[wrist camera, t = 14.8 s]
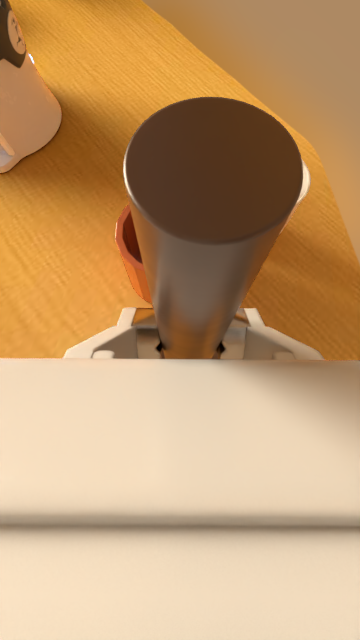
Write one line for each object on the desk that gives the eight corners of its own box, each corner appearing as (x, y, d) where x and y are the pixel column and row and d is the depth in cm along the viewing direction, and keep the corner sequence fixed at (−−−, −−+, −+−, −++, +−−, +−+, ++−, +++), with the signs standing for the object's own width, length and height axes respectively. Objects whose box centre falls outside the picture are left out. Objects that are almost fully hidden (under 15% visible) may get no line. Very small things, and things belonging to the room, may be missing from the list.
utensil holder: (127, 306, 38) (112, 274, 30) (131, 237, 41) (118, 190, 32) (205, 307, 38) (212, 275, 30) (204, 238, 41) (210, 190, 32)
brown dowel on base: (148, 412, 23) (-51, 379, 3) (150, 342, 24) (29, 15, 5) (220, 413, 23) (489, 382, 3) (218, 343, 24) (388, 19, 5)
